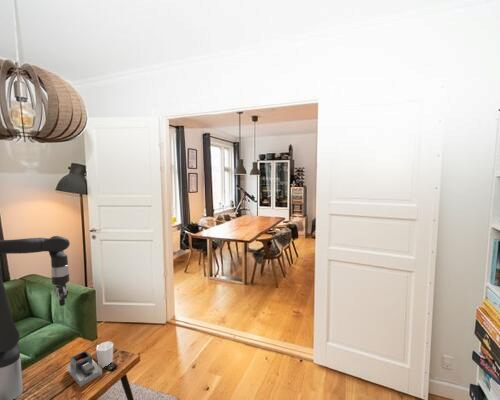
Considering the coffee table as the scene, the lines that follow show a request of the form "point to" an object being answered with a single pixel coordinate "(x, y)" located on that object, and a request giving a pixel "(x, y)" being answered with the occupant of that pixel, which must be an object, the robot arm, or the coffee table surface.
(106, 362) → the white cup
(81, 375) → the grey switch box
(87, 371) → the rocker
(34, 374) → the coffee table surface
